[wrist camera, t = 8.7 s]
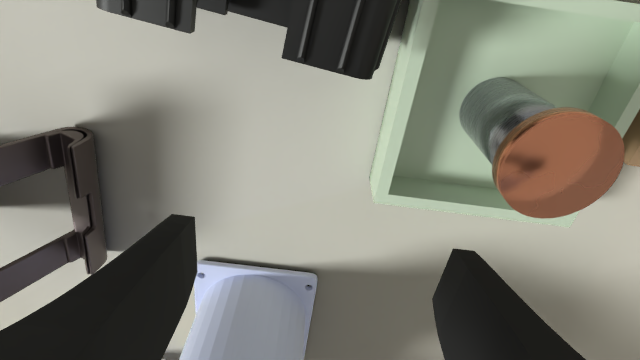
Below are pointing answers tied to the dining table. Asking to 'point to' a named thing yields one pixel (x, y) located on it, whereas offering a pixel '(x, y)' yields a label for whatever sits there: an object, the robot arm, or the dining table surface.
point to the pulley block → (632, 142)
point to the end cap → (291, 26)
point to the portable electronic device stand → (84, 194)
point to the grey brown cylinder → (541, 148)
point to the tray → (490, 62)
